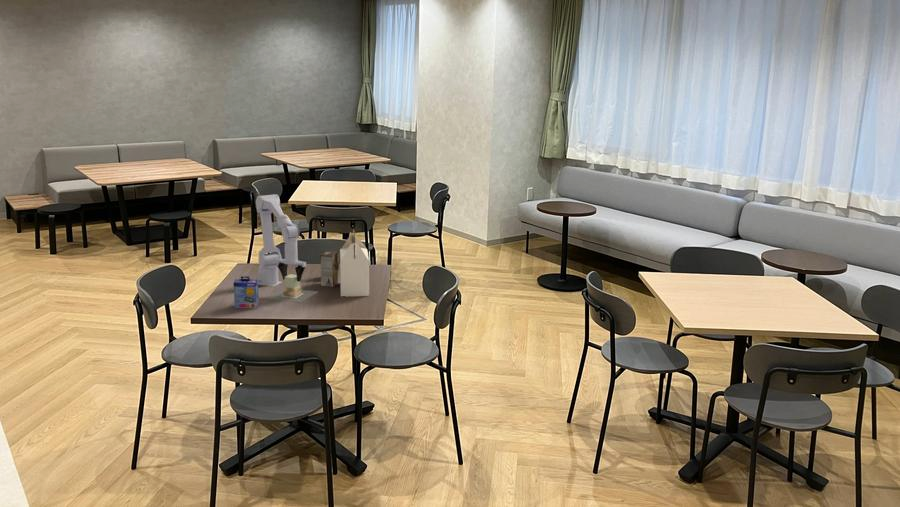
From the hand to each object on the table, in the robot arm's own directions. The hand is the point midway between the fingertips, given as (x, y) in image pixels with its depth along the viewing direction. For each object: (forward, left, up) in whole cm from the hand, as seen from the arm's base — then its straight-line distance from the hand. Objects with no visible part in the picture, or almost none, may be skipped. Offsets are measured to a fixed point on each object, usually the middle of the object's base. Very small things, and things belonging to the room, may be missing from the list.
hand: (291, 280), depth 344 cm
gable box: (+22, +20, -8) cm, 31 cm away
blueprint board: (0, 0, -8) cm, 8 cm away
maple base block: (0, 0, -7) cm, 7 cm away
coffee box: (+8, +23, -8) cm, 26 cm away
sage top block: (0, 0, -3) cm, 3 cm away
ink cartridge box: (-11, -21, -8) cm, 25 cm away
